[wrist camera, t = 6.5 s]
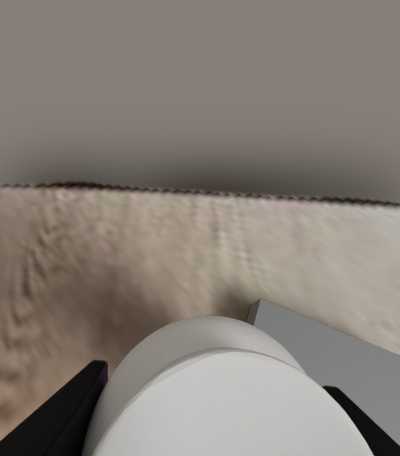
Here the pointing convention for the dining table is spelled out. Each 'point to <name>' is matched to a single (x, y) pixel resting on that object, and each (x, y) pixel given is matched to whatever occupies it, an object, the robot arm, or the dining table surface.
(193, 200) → the dining table surface
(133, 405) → the supplement bottle
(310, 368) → the block
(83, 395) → the robot arm
